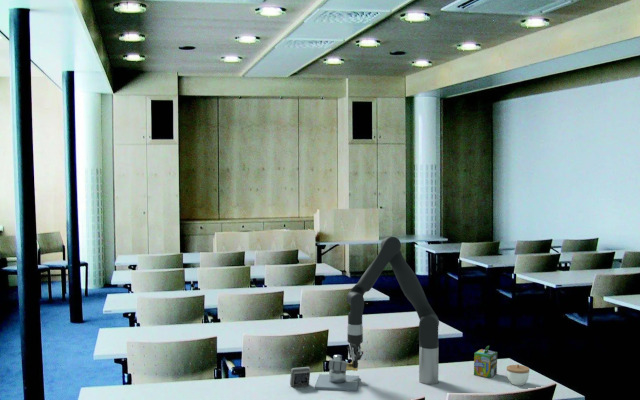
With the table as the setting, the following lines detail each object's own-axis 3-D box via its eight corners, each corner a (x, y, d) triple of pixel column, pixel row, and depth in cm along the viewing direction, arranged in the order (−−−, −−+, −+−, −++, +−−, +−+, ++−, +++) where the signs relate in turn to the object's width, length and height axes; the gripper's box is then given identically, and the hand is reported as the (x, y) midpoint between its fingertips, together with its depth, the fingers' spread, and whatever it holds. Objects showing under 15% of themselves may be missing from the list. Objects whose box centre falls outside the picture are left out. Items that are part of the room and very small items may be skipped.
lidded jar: (533, 384, 346) (534, 365, 346) (517, 388, 341) (518, 369, 340) (517, 378, 355) (517, 360, 355) (501, 382, 350) (501, 363, 349)
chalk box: (480, 370, 369) (480, 342, 368) (497, 374, 364) (497, 345, 363) (473, 375, 361) (473, 346, 361) (490, 378, 356) (490, 349, 355)
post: (346, 378, 351) (346, 353, 350) (345, 383, 343) (345, 358, 342) (330, 378, 351) (330, 353, 351) (328, 383, 344) (328, 357, 343)
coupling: (349, 369, 357) (350, 360, 357) (361, 371, 350) (362, 363, 351) (325, 367, 347) (326, 359, 348) (336, 370, 341) (337, 362, 341)
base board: (359, 378, 356) (359, 359, 355) (356, 391, 336) (356, 371, 336) (319, 376, 358) (319, 357, 358) (314, 389, 338) (314, 369, 338)
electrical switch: (308, 383, 347) (308, 365, 346) (311, 387, 342) (311, 369, 341) (289, 385, 344) (290, 367, 343) (292, 389, 339) (292, 371, 338)
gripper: (368, 334, 344) (368, 370, 345) (355, 329, 356) (355, 363, 357) (354, 336, 341) (354, 372, 342) (342, 330, 353) (342, 365, 354)
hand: (355, 367), depth 350 cm, fingers closed
